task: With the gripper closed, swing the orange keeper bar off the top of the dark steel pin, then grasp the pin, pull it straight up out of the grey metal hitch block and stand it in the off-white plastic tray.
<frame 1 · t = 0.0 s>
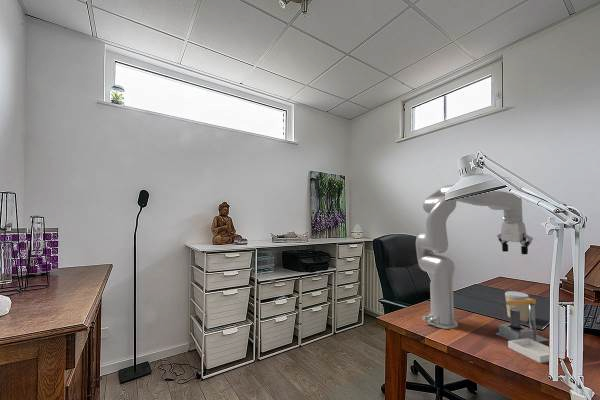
hand: (514, 252, 136), 31 cm above the table, fingers open, 9 cm apart
coffee cup: (517, 319, 130), on the table
pin: (516, 337, 109), point 1 cm above the table, touching hitch
tray: (534, 354, 97), on the table
keeper: (521, 302, 111), point 15 cm above the table, hinge at 0.0°
hitch: (516, 338, 109), on the table
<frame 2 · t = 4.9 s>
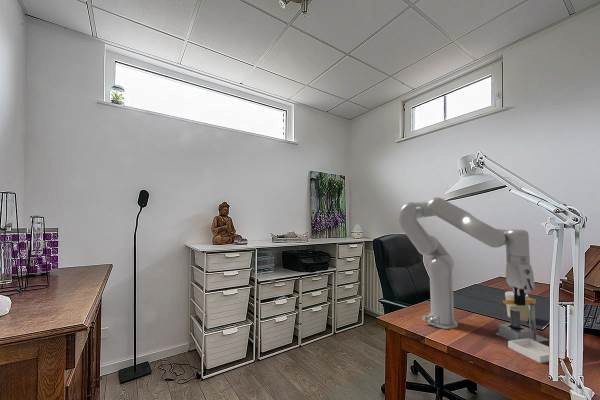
hand: (519, 304, 109), 14 cm above the table, fingers closed
keeper: (519, 301, 111), point 15 cm above the table, hinge at -6.7°, touching gripper
everything else where it was.
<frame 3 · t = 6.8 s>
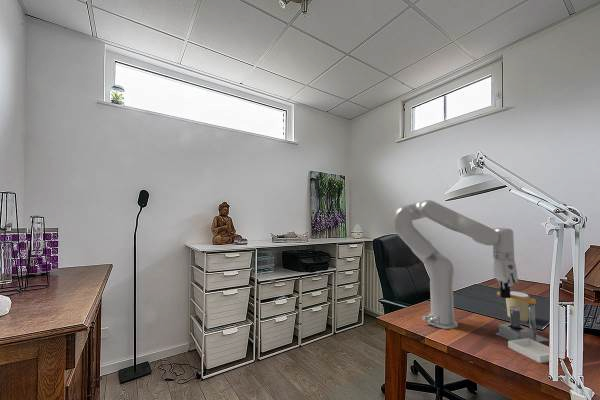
hand: (505, 297, 118), 14 cm above the table, fingers closed
keeper: (515, 297, 117), point 15 cm above the table, hinge at -74.8°, touching gripper
everything else where it was.
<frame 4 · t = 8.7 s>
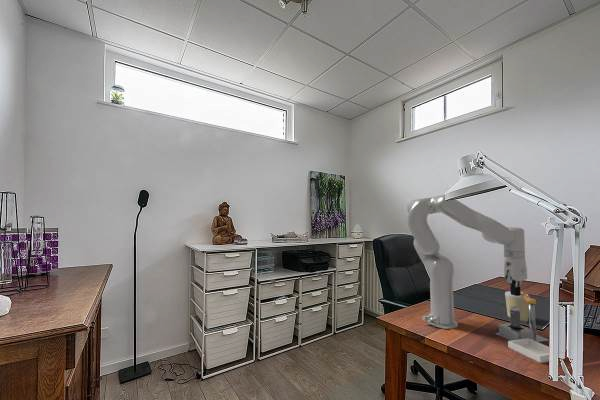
hand: (515, 295, 120), 14 cm above the table, fingers closed
keeper: (525, 297, 117), point 15 cm above the table, hinge at -125.7°
everything else where it was.
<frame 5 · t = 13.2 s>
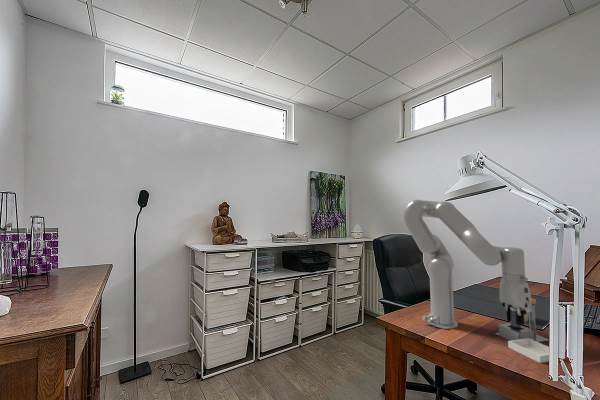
hand: (515, 322, 109), 7 cm above the table, fingers closed on pin, 3 cm apart
pin: (516, 337, 109), point 1 cm above the table, touching gripper, hitch
everything else where it was.
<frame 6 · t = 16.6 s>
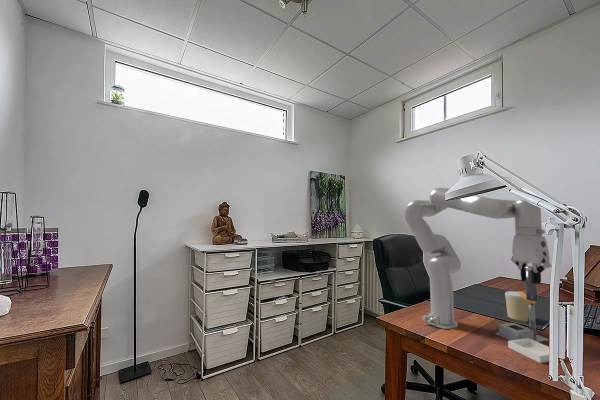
hand: (530, 281, 98), 26 cm above the table, fingers closed on pin, 3 cm apart
pin: (531, 299, 98), point 20 cm above the table, touching gripper
everything else where it was.
when the fingers open (8 cm above the table, at t = 20.1 s): pin stays where it is, resting on tray.
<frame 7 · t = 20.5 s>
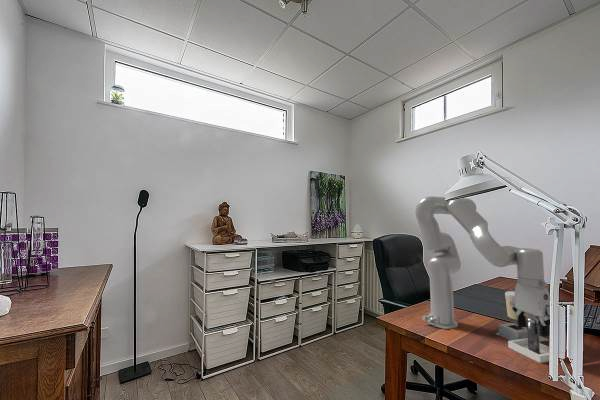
hand: (533, 331, 97), 8 cm above the table, fingers open, 7 cm apart
pin: (534, 352, 97), point 1 cm above the table, touching tray
everything else where it was.
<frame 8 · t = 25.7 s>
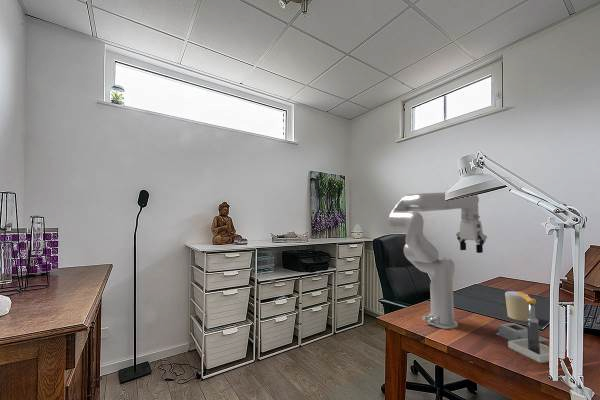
hand: (471, 251, 135), 32 cm above the table, fingers open, 9 cm apart
nothing on the table moved.
at the end: pin inside the target area on the tray (0.1 cm from its centre), point 0.8 cm above the tray's base; keeper at -126° (first picture: +0°); the gripper is holding nothing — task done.
